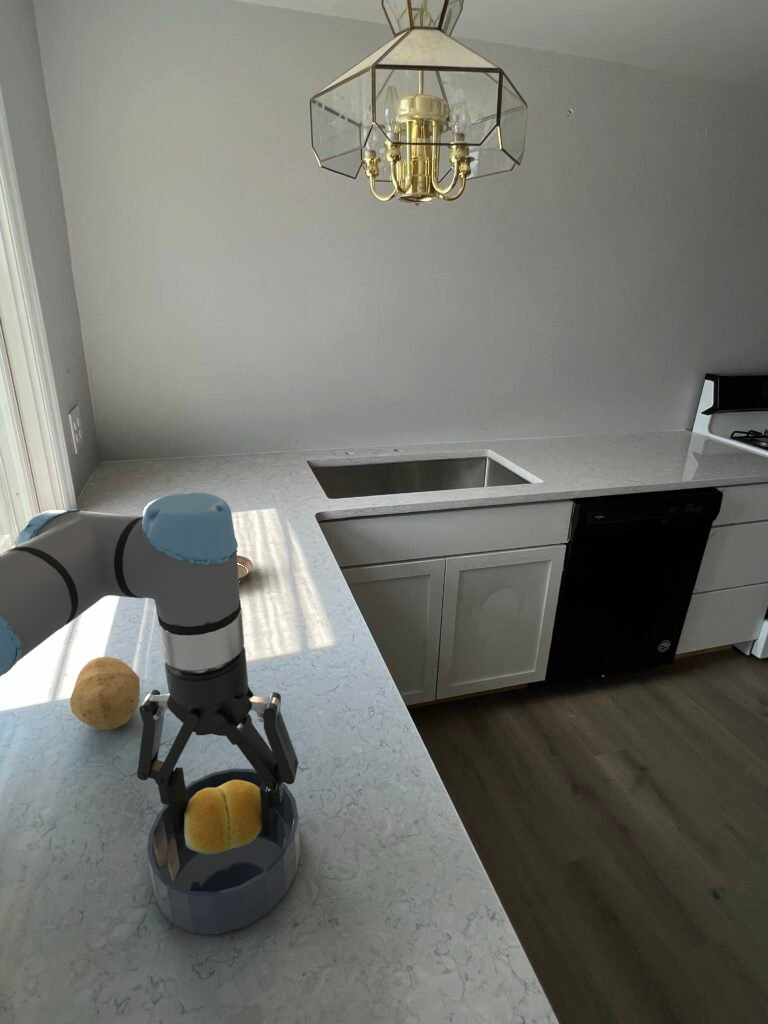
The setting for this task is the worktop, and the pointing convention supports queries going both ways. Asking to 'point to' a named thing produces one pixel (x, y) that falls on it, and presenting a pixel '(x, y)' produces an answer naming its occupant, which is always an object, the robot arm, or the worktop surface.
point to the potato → (105, 693)
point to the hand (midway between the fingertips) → (225, 823)
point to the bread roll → (223, 817)
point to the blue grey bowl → (223, 867)
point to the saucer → (242, 570)
